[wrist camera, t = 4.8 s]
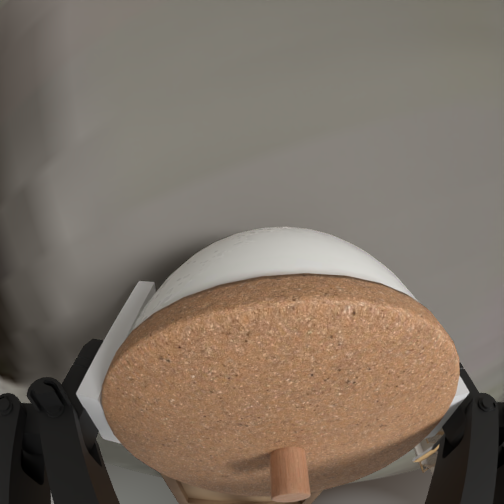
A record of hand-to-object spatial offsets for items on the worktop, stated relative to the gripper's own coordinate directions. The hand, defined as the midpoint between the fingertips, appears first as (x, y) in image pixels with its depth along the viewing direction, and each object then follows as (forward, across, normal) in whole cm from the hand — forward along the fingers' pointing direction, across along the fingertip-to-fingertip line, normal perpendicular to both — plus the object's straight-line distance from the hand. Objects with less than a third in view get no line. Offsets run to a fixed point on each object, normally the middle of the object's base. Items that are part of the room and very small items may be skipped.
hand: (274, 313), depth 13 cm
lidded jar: (+1, 0, 0) cm, 1 cm away
